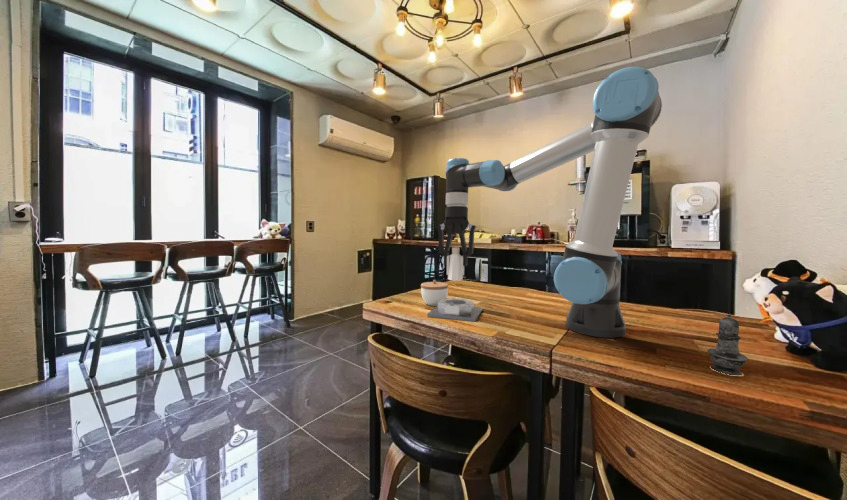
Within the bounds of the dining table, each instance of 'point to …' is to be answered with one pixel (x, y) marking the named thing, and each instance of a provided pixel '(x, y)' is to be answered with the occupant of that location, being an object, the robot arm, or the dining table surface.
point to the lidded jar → (434, 292)
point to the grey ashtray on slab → (456, 309)
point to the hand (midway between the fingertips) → (455, 274)
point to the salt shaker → (455, 265)
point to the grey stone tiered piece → (727, 348)
